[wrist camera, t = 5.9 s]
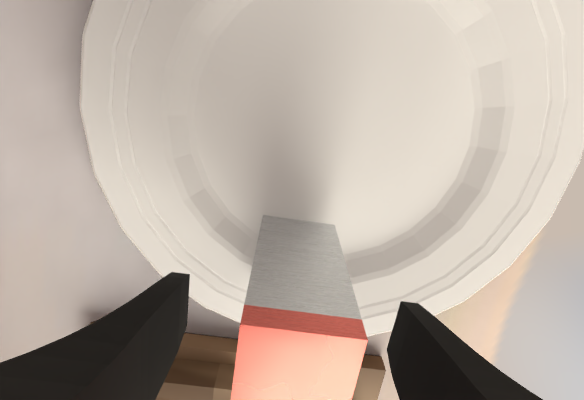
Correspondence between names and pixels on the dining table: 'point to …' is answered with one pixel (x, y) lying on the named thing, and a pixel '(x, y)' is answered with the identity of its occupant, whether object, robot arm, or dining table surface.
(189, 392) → the board
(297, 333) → the pin
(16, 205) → the dining table surface
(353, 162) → the plate
